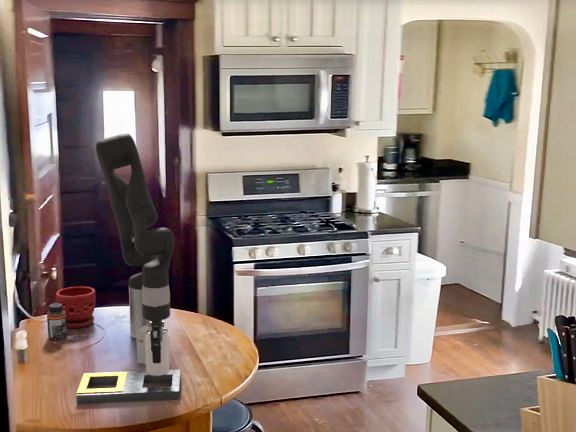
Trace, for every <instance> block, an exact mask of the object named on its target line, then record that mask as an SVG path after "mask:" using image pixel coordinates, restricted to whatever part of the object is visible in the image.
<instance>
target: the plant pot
mask: <svg viewBox="0 0 576 432" xmlns="http://www.w3.org/2000/svg"><path fill="white" fill-rule="evenodd" d="M55 300H56V303H60V304H62V309H63V310H64V311H65V312H66V326H67V328H70V329H71V328H73V329H76V328H77V329H78V328H80V329H81V328H83V327H86V326H89V325H91V324H92V323H93V322H94V321H95V316H94V315H93V314H94V312H95V309H96V290H95V289H94V288H93V287H90V286H70V287H66V288H62V289H58V291H57V292H56V293H55Z"/></svg>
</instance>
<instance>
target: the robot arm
mask: <svg viewBox="0 0 576 432" xmlns="http://www.w3.org/2000/svg"><path fill="white" fill-rule="evenodd" d="M138 150H139V149H138V148H137V145H136V143H135V141H134V138H133V136H132V135H131V134H130V133H120V134H116V135H113V136H109V137H106V138H102V139H100V140H98V141H97V142H96V143H95V152H96V156H97V159H98V162H99V163H98V164H99V166H100V169H101V171H102V175H103V178H104V181H105V184H106V187H107V191H108V197H109V200H110V206H111V209H112V214H113V216H114V220H115V222H116V227H117V230H118V234H119V235H118V236H119V241H120V247H121V253H122V258H123V261H124V262H125V264H126V265H127V266H131V267H142V268H141V272H139V273H136V274H133V275H131V276H130V277H129V279H128V295H129V296H128V297H129V298H128V299H129V304H128V306H129V331H130V337H132V338H133V339H136V331H137V330H139V329H140V328H142V327H143V326H145V325H148V326H149V331H150V341H151V351H152V358H153V363H160V362H161V342H162V341H163V331H164V328H165V320H167V319H168V318H169V317H171V291H170V285H169V283H170V282H169V281H170V280H169V279H170V278H169V269H170V266H171V265H170V264H171V259H172V256H173V253H174V249H175V236H174V234H173V232H172V230H170V228H167V227H158V228H152V229H151V227H152V226H153V225H155V224H156V223H157V222H158V219H159V216H158V211H157V210H156V207H155V205H154V202H153V200H152V197H151V194H150V192H149V189H148V185H147V181H146V176H145V172H144V168H143V165H142V162H141V161H142V160H141V158H140V155H139V151H138ZM129 166H130V170H131V171H130V172H131V173H130V179H129V182H127V181H126V180H124V179H123V178H122V177H120V175H118V174H117V172H116V171H115V170H119V169H122V168H125V167H129ZM148 228H150V229H148ZM160 334H161V338H160ZM154 344H158V346H154Z"/></svg>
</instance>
